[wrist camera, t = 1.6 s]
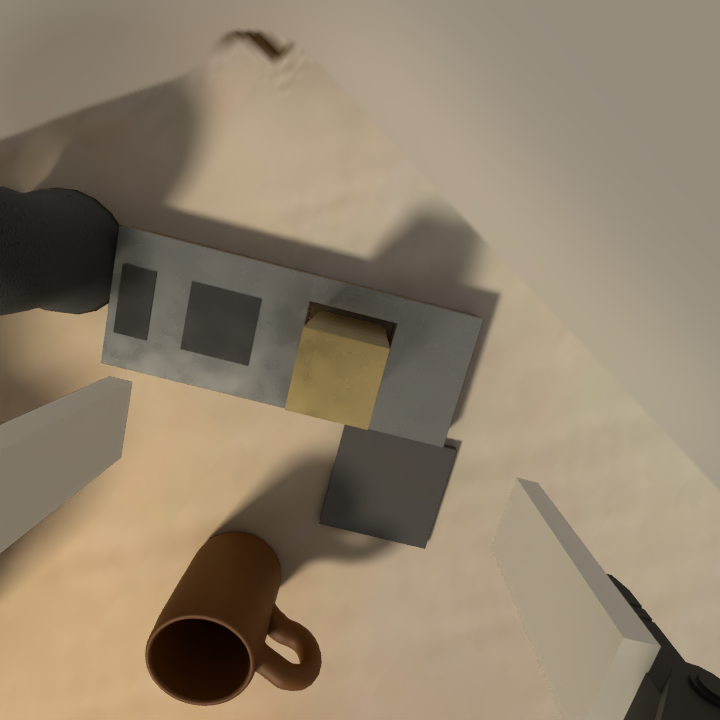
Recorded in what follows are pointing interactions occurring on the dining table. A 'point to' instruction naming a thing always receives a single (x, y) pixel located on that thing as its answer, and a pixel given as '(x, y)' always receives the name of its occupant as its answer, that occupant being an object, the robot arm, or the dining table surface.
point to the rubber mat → (386, 486)
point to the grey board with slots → (273, 330)
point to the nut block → (338, 369)
